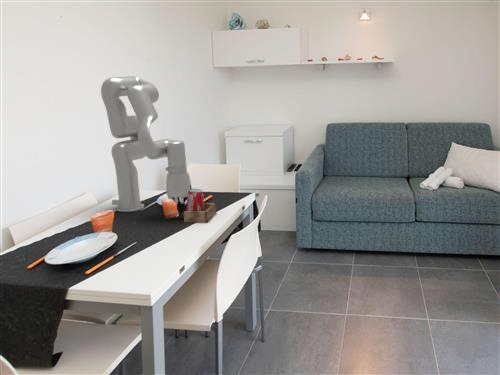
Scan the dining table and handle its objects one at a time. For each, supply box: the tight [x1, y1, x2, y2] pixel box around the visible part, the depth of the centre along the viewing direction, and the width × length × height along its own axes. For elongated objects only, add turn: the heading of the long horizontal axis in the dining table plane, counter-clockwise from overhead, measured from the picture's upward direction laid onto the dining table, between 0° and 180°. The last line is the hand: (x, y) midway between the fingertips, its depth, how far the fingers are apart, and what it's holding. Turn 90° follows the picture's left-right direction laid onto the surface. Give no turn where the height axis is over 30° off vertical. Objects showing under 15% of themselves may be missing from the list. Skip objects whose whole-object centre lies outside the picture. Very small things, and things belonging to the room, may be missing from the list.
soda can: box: [186, 188, 205, 211], centre depth 213 cm, size 7×7×12 cm
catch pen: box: [183, 202, 217, 224], centre depth 216 cm, size 10×14×4 cm
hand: (181, 211), depth 217 cm, fingers closed
